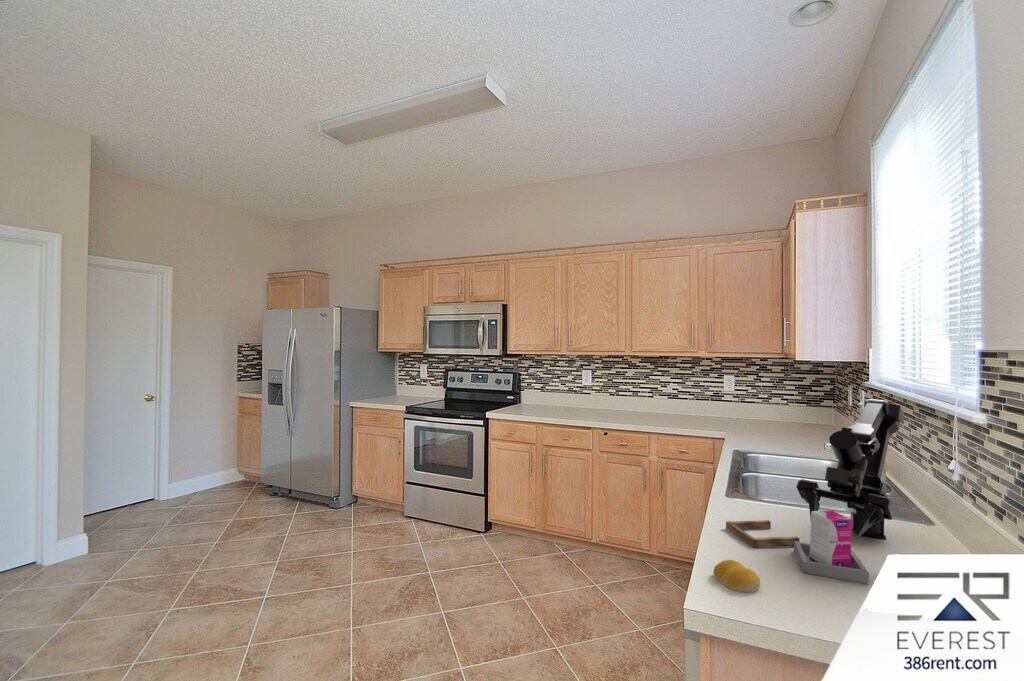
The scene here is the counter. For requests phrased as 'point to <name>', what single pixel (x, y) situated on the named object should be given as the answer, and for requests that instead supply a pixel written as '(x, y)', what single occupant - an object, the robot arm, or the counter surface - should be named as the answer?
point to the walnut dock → (738, 528)
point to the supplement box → (830, 538)
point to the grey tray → (830, 566)
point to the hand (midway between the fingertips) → (834, 529)
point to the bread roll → (736, 576)
